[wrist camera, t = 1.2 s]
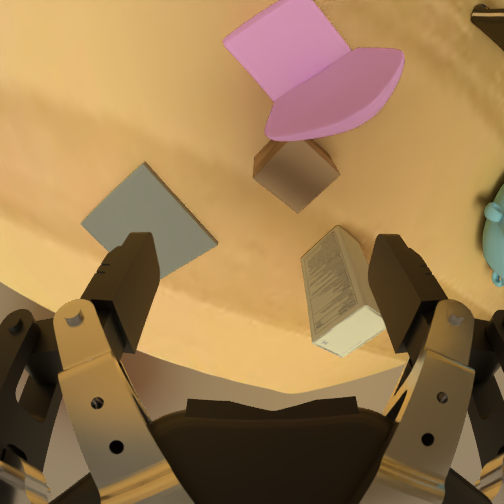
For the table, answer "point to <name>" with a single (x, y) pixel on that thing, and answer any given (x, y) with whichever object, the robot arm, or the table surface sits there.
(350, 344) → the skincare box
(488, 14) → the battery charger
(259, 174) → the walnut block
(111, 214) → the coaster
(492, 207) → the decorative pot
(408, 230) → the table surface
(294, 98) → the toy chair
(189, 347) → the table surface
